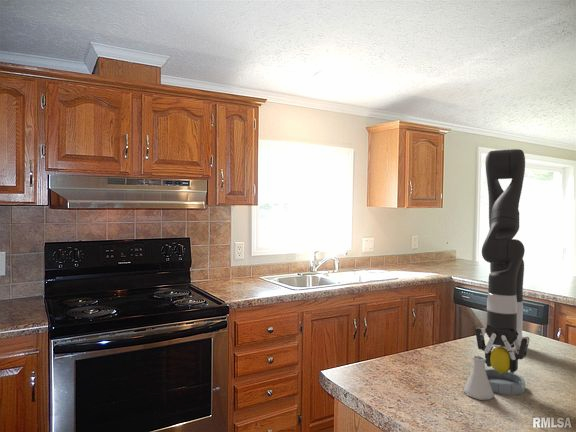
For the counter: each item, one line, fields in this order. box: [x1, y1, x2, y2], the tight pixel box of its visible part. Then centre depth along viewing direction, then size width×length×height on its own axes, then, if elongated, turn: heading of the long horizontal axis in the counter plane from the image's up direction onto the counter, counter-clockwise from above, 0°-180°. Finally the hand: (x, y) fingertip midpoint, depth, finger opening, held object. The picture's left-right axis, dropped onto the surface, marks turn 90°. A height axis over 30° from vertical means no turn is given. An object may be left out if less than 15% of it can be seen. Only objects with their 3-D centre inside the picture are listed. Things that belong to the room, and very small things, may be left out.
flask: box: [462, 355, 495, 401], centre depth 109 cm, size 7×7×10 cm
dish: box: [485, 368, 526, 396], centre depth 115 cm, size 12×12×2 cm
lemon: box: [490, 346, 511, 374], centre depth 115 cm, size 6×6×8 cm
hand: (500, 368), depth 115 cm, fingers closed on lemon, 5 cm apart
